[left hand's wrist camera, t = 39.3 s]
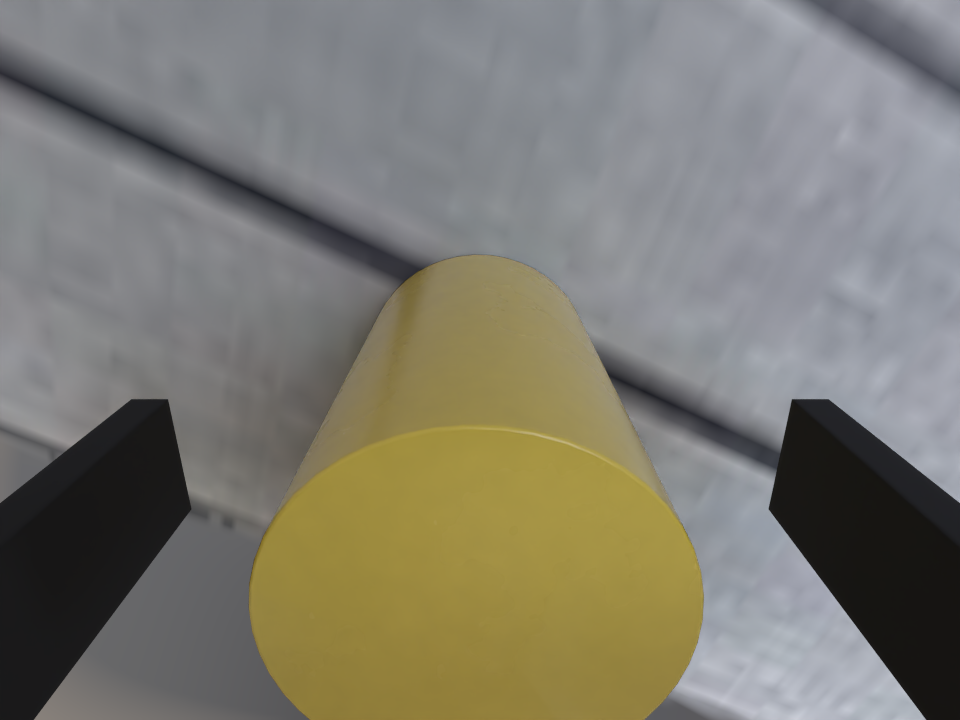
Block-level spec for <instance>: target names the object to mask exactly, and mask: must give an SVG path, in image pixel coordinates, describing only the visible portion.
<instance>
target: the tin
mask: <svg viewBox="0 0 960 720" xmlns="http://www.w3.org/2000/svg"><path fill="white" fill-rule="evenodd" d="M703 602H704V592H703V584H702V575H701V570H700V567H699V563H698V560H697V557H696V553H695V550H694V547H693V545H692V543H691V541H690V539H689V537H688V535H687V533H686V531H685V529H684V527H683V525H682V523H681V521H680V519H679V517H678V515H677V513H676V511H675V509H674V507H673V505H672V503H671V501H670V499H669V497H668V495H667V493H666V491H665V489H664V487H663V485H662V483H661V481H660V479H659V477H658V475H657V473H656V471H655V469H654V467H653V465H652V463H651V461H650V459H649V457H648V455H647V453H646V451H645V449H644V447H643V445H642V443H641V441H640V439H639V437H638V435H637V433H636V431H635V429H634V427H633V425H632V423H631V421H630V419H629V417H628V415H627V412H626V410H625V408H624V406H623V404H622V402H621V400H620V398H619V396H618V394H617V392H616V390H615V388H614V386H613V384H612V382H611V380H610V378H609V376H608V374H607V372H606V370H605V368H604V366H603V364H602V362H601V360H600V358H599V356H598V354H597V352H596V350H595V348H594V346H593V344H592V342H591V340H590V338H589V336H588V334H587V332H586V330H585V328H584V326H583V324H582V322H581V320H580V318H579V316H578V314H577V312H576V310H575V308H574V306H573V305H572V303H571V302H570V300H569V299H568V298H567V296H566V295H565V294H564V293H563V292H562V291H561V290H560V288H559V287H558V286H557V285H556V284H554V283H553V282H552V281H551V280H550V279H548V278H547V277H546V276H545V275H543V274H541V273H540V272H538V271H537V270H535V269H533V268H531V267H529V266H527V265H525V264H522V263H520V262H517V261H514V260H511V259H507V258H503V257H497V256H491V255H468V256H459V257H454V258H450V259H446V260H443V261H440V262H437V263H435V264H432V265H430V266H428V267H426V268H424V269H422V270H420V271H419V272H417V273H416V274H414V275H413V276H411V277H410V278H409V279H407V280H406V281H405V282H404V283H403V284H402V285H401V286H400V287H399V288H397V289H396V290H395V292H394V293H393V294H392V295H391V297H390V298H389V299H388V300H387V302H386V303H385V305H384V307H383V309H382V310H381V312H380V314H379V316H378V318H377V319H376V321H375V323H374V325H373V327H372V329H371V331H370V333H369V335H368V337H367V339H366V341H365V342H364V344H363V346H362V348H361V350H360V352H359V354H358V356H357V358H356V360H355V362H354V364H353V365H352V367H351V369H350V371H349V373H348V375H347V377H346V379H345V381H344V383H343V385H342V386H341V388H340V390H339V392H338V394H337V396H336V398H335V400H334V402H333V404H332V406H331V408H330V409H329V411H328V413H327V415H326V417H325V419H324V421H323V423H322V425H321V427H320V429H319V431H318V432H317V434H316V436H315V438H314V440H313V442H312V444H311V446H310V448H309V450H308V452H307V453H306V455H305V457H304V459H303V461H302V463H301V465H300V467H299V469H298V471H297V473H296V475H295V476H294V478H293V480H292V482H291V484H290V486H289V488H288V490H287V492H286V494H285V496H284V498H283V499H282V501H281V503H280V505H279V507H278V509H277V511H276V513H275V515H274V517H273V519H272V520H271V522H270V524H269V526H268V528H267V530H266V532H265V534H264V536H263V538H262V541H261V543H260V546H259V548H258V551H257V554H256V556H255V559H254V562H253V567H252V572H251V577H250V582H249V613H250V620H251V627H252V632H253V635H254V639H255V642H256V645H257V648H258V651H259V654H260V656H261V658H262V660H263V662H264V664H265V666H266V668H267V670H268V672H269V674H270V675H271V677H272V678H273V680H274V681H275V682H276V684H277V685H278V687H279V688H280V690H281V691H282V693H283V694H284V695H285V696H286V697H287V698H288V699H289V700H290V701H291V702H292V703H293V705H294V706H295V707H296V708H297V709H298V710H299V711H300V712H301V713H303V714H304V715H305V716H306V717H307V718H308V719H310V720H644V719H646V718H647V717H648V716H649V715H650V714H651V713H652V712H653V711H654V710H655V709H656V708H657V707H658V706H659V705H660V704H661V703H662V702H663V701H664V700H665V699H666V697H667V696H668V695H669V694H670V692H671V691H672V690H673V689H674V687H675V686H676V685H677V683H678V682H679V680H680V678H681V677H682V675H683V673H684V672H685V670H686V668H687V666H688V665H689V663H690V660H691V658H692V655H693V653H694V650H695V648H696V645H697V643H698V638H699V634H700V629H701V625H702V620H703Z"/></svg>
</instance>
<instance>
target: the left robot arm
mask: <svg viewBox="0 0 960 720" xmlns="http://www.w3.org/2000/svg"><path fill="white" fill-rule="evenodd" d="M190 510H191V505H190V501H189V496H188V491H187V487H186V482H185V477H184V472H183V468H182V463H181V458H180V454H179V449H178V444H177V440H176V435H175V430H174V426H173V421H172V416H171V411H170V407H169V402H168V399H131V400H130V401H129V402H128V403H126V404H125V405H124V406H122V407H121V408H120V409H119V410H117V411H116V412H115V413H114V414H112V415H111V416H110V417H109V418H107V419H106V420H105V421H104V422H102V423H101V424H100V425H98V426H97V427H96V428H95V429H93V430H92V431H91V432H90V433H88V434H87V435H86V436H85V437H83V438H82V439H81V440H80V441H78V442H77V443H76V444H74V445H73V446H72V447H71V448H69V449H68V450H67V451H66V452H64V453H63V454H62V455H61V456H59V457H58V458H57V459H56V460H54V461H53V462H52V463H50V464H49V465H48V466H47V467H45V468H44V469H43V470H42V471H40V472H39V473H38V474H37V475H35V476H34V477H33V478H32V479H30V480H29V481H28V482H26V483H25V484H24V485H23V486H21V487H20V488H19V489H18V490H16V491H15V492H14V493H13V494H11V495H10V496H9V497H8V498H6V499H5V500H4V501H2V502H1V503H0V720H34V719H35V717H36V716H37V715H38V713H39V712H40V711H41V709H42V708H43V707H44V705H45V704H46V703H47V701H48V700H49V699H50V697H51V696H52V695H53V693H54V692H55V691H56V689H57V688H58V687H59V685H60V684H61V683H62V681H63V680H64V679H65V677H66V676H67V675H68V673H69V672H70V671H71V669H72V668H73V667H74V665H75V664H76V662H77V661H78V660H79V659H80V657H81V656H82V655H83V653H84V652H85V651H86V649H87V648H88V647H89V645H90V644H91V642H92V641H93V640H94V638H95V637H96V636H97V634H98V633H99V632H100V630H101V629H102V628H103V626H104V625H105V624H106V622H107V621H108V620H109V618H110V617H111V616H112V614H113V613H114V612H115V610H116V609H117V608H118V606H119V605H120V604H121V602H122V601H123V600H124V598H125V597H126V596H127V594H128V593H129V592H130V590H131V589H132V588H133V586H134V585H135V584H136V582H137V581H138V580H139V578H140V577H141V576H142V574H143V573H144V572H145V570H146V569H147V568H148V566H149V565H150V564H151V562H152V561H153V560H154V558H155V557H156V556H157V554H158V553H159V552H160V550H161V549H162V548H163V546H164V545H165V544H166V542H167V541H168V540H169V538H170V537H171V536H172V534H173V533H174V532H175V530H176V529H177V528H178V526H179V525H180V523H181V522H182V521H183V520H184V518H185V517H186V516H187V514H188V513H189V512H190ZM769 510H770V512H771V513H772V514H773V516H774V517H775V518H776V520H777V521H778V522H779V524H780V525H781V526H782V528H783V529H784V530H785V532H786V533H787V534H788V536H789V537H790V538H791V540H792V541H793V542H794V544H795V545H796V546H797V548H798V549H799V550H800V552H801V553H802V554H803V556H804V557H805V558H806V560H807V561H808V562H809V564H810V565H811V566H812V568H813V569H814V570H815V572H816V573H817V574H818V576H819V577H820V578H821V580H822V581H823V582H824V584H825V585H826V586H827V588H828V589H829V590H830V592H831V593H832V594H833V596H834V597H835V598H836V600H837V601H838V602H839V604H840V605H841V606H842V608H843V609H844V610H845V612H846V613H847V614H848V616H849V617H850V618H851V620H852V621H853V622H854V624H855V625H856V626H857V628H858V629H859V630H860V632H861V633H862V634H863V636H864V637H865V638H866V640H867V641H868V643H869V644H870V645H871V647H872V648H873V649H874V651H875V652H876V653H877V655H878V656H879V657H880V659H881V660H882V661H883V663H884V664H885V665H886V667H887V668H888V669H889V671H890V672H891V673H892V675H893V676H894V677H895V679H896V680H897V681H898V683H899V684H900V685H901V687H902V688H903V689H904V691H905V692H906V693H907V695H908V696H909V697H910V699H911V700H912V701H913V703H914V704H915V705H916V707H917V708H918V709H919V711H920V712H921V713H922V715H923V716H924V717H925V719H926V720H960V503H959V502H958V501H956V500H955V499H954V498H952V497H951V496H950V495H949V494H947V493H946V492H945V491H944V490H942V489H941V488H940V487H939V486H937V485H936V484H935V483H934V482H932V481H931V480H930V479H928V478H927V477H926V476H925V475H923V474H922V473H921V472H920V471H918V470H917V469H916V468H915V467H913V466H912V465H911V464H910V463H908V462H907V461H906V460H904V459H903V458H902V457H901V456H899V455H898V454H897V453H896V452H894V451H893V450H892V449H891V448H889V447H888V446H887V445H886V444H884V443H883V442H882V441H880V440H879V439H878V438H877V437H875V436H874V435H873V434H872V433H870V432H869V431H868V430H867V429H865V428H864V427H863V426H862V425H860V424H859V423H858V422H856V421H855V420H854V419H853V418H851V417H850V416H849V415H848V414H846V413H845V412H844V411H843V410H841V409H840V408H839V407H838V406H836V405H835V404H834V403H832V402H831V401H830V400H829V399H792V402H791V407H790V411H789V416H788V421H787V426H786V430H785V435H784V440H783V444H782V449H781V454H780V458H779V463H778V468H777V472H776V477H775V482H774V487H773V491H772V496H771V501H770V505H769Z"/></svg>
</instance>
